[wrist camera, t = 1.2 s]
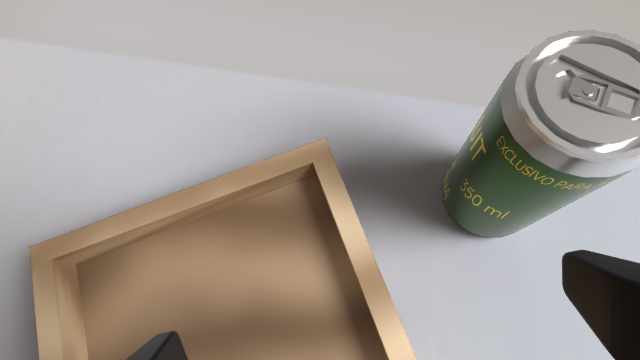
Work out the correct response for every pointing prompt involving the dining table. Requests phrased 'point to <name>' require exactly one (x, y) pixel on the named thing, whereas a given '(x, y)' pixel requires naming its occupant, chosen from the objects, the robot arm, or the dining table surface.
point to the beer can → (549, 134)
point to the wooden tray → (223, 273)
